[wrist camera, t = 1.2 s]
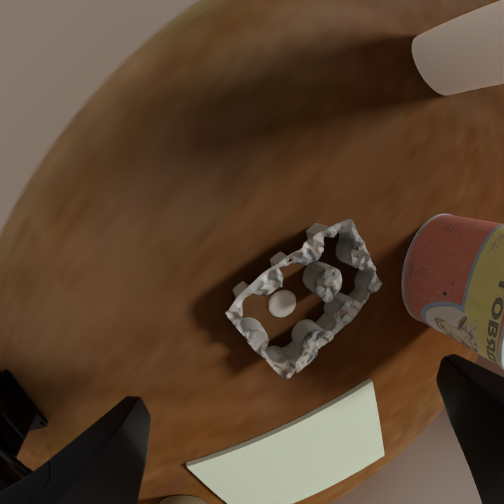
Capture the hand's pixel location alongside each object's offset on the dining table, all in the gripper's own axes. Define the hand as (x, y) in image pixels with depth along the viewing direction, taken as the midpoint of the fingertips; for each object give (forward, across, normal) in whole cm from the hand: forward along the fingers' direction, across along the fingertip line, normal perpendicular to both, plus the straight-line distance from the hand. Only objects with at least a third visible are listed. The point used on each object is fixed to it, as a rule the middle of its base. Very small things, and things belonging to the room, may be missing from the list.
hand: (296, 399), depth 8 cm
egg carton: (+15, -2, +4) cm, 16 cm away
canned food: (+19, -17, +6) cm, 26 cm away
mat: (+12, -1, +25) cm, 28 cm away
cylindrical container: (+22, -20, -15) cm, 33 cm away
